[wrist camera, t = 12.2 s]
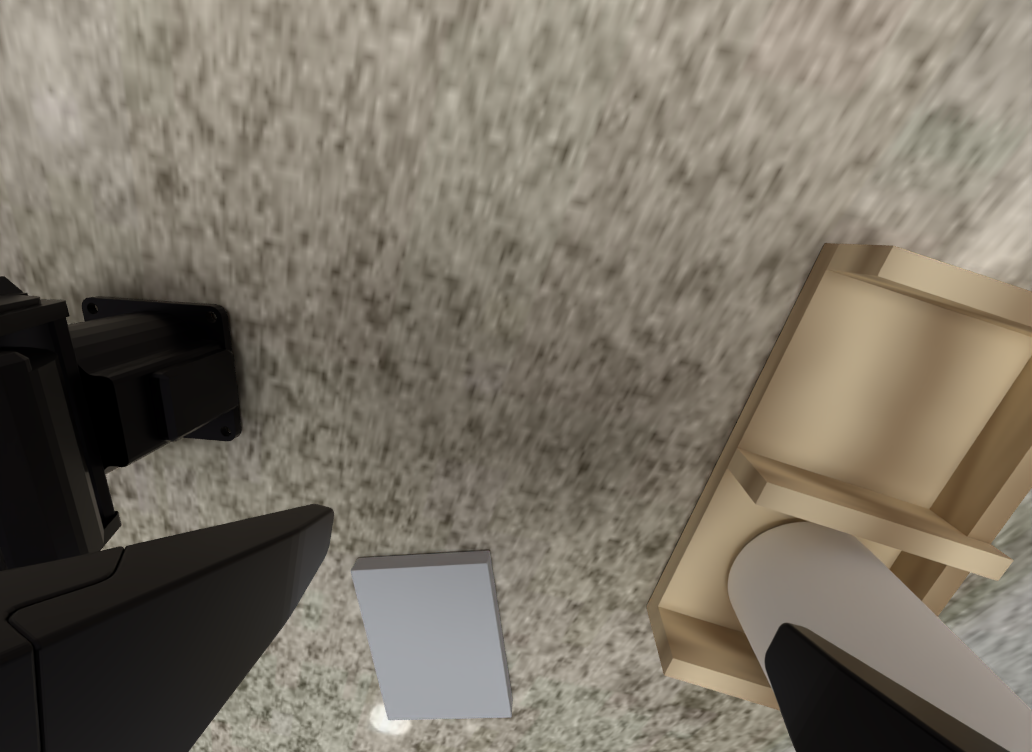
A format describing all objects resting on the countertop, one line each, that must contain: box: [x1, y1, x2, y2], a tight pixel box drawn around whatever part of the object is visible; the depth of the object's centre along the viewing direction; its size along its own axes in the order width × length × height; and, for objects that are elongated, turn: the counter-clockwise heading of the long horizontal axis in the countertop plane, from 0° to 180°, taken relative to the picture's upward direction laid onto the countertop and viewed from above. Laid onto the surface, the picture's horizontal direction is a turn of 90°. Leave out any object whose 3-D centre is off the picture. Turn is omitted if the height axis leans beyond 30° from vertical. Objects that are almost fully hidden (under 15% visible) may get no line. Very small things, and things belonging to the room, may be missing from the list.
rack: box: [646, 243, 1032, 710], centre depth 20 cm, size 10×19×4 cm, turn 163°
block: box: [351, 550, 513, 720], centre depth 26 cm, size 7×10×1 cm
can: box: [728, 522, 1032, 752], centre depth 17 cm, size 6×6×12 cm
